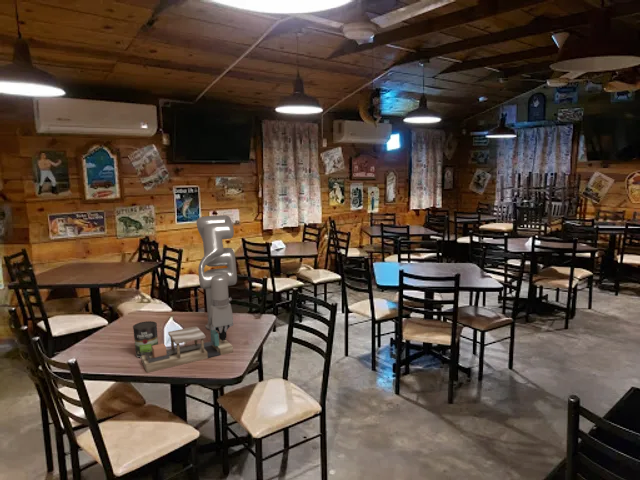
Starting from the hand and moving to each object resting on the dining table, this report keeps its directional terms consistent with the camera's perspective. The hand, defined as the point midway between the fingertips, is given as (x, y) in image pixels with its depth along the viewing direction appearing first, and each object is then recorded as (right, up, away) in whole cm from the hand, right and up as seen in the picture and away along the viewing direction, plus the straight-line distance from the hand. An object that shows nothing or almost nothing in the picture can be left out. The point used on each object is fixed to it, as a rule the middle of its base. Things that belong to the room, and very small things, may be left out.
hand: (223, 339), depth 213 cm
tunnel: (-14, -6, -8) cm, 17 cm away
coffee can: (-35, -6, -2) cm, 35 cm away
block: (-25, -5, -14) cm, 29 cm away
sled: (-16, -3, -9) cm, 19 cm away
